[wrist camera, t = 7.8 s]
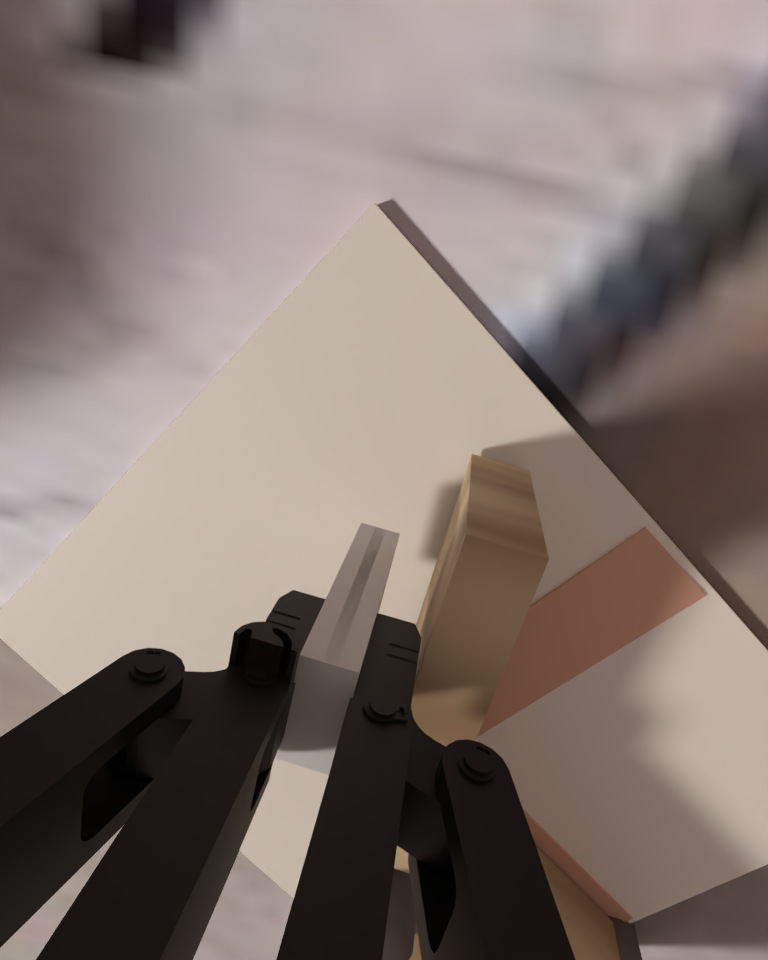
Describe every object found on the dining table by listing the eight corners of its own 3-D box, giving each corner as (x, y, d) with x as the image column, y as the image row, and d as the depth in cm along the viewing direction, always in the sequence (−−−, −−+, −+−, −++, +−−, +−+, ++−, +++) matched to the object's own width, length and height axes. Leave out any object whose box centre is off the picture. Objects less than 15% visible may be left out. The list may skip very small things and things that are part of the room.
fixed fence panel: (597, 952, 25) (637, 1192, 19) (408, 770, 24) (379, 961, 17) (646, 932, 24) (705, 1174, 18) (454, 741, 23) (442, 931, 16)
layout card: (423, 1003, 28) (422, 1016, 27) (-7, 619, 24) (-17, 626, 24) (895, 795, 21) (905, 808, 20) (376, 204, 17) (373, 202, 17)
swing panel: (424, 777, 23) (399, 982, 16) (363, 757, 23) (315, 952, 16) (539, 473, 18) (569, 586, 12) (462, 450, 18) (449, 550, 12)
